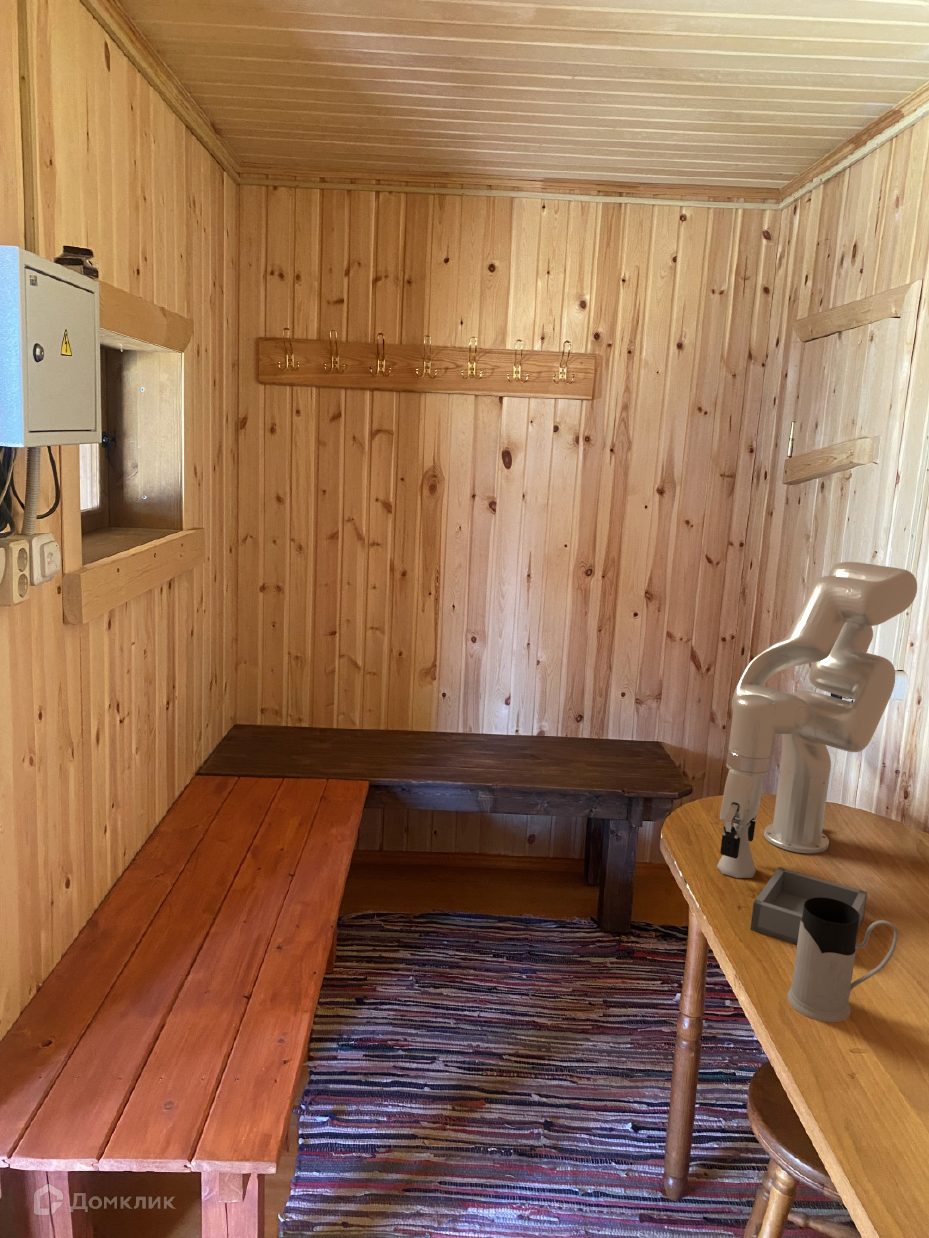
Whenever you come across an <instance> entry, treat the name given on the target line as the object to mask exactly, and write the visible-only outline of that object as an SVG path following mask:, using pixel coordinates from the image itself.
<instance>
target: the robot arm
mask: <svg viewBox="0 0 929 1238" xmlns="http://www.w3.org/2000/svg"><path fill="white" fill-rule="evenodd" d="M917 592H918V581H917V578H916V576H915V575H914V574H913V572H911V571H909V570H907V569H904V568H898V567H893V566H886V565H879V564H871V563H866V562H865V563H864V562H858V561H842V562H839V563H836V564H834V565H833V566H832V567H831V569H830V571H829V573H828V575H826V576H825V575H824V576H821V577H819V578H818V579H816V580H814V582H813V584H812V585H811V587H810V589H809V591H808V593H807V595H806V597H805V599H804V600H803V602H802V605H801V607H800V609H799V610H798V613H797V615H796V617H795V620H794V621H793V623H792V625H791V627H790V630H789V631H788V633H787V635H786V636H785V637H784V638H783V639H781V640H779V641H777V642H775V643H773V644H772V645H770V646H769V647H767V648H765V649H764V650H763V651H762V652H760V653H759V654H757V655H756V656H755V657H753V658H752V660H751V661H749V663H748V664H747V666H746V668H745V669H744V671H743V672H742V674H741V676H740V678H739V681H738V683H737V684H736V687H735V688H734V689H735V690H734V692H733V695H732V698H731V709H732V717H731V726H730V734H729V741H728V749H727V758H726V768H727V769H728V773H727V776H726V780H725V785H724V790H723V797H722V801H721V807H720V813H719V819H720V821H721V822H722V821H724V826H723V827H722V828H723V830H722V835H721V844H720V851H719V853H720V855H722V856H723V855H725V856H728V857H732V858H735V859H736V858H737V857H738V854H739V846H740V839H741V838H739V835H740V831H741V828H742V826H745V825H746V824H748V823H749V822H750V823H751V824H750V826H749V828H748V842H753V841H754V836H755V828H756V819H757V814H758V812H759V809H760V805H761V796H762V789H763V778H764V776H765V775H767V774H769V769H770V762H771V753H772V748H773V747H772V746H773V739H774V735H782V747H781V748H782V749H781V757H780V765H779V772H778V773H779V775H778V781H777V782H778V783H777V788H776V799H775V805H774V806H775V807H774V814H773V815H774V816H773V820H772V821H773V822H772V823H770V824H768V825H766V826H765V827H764V831H763V836H764V837H765V839H766V841H768V842H769V843H770V844H771V845H774V846H776V847H778V848H780V849H783V850H786V851H788V852H792V853H800V854H818V853H822V852H825V851H826V850H827V849H828V848H829V846H830V845H829V844H830V839H829V838H828V836H827V835H826V834H824V833H823V828H824V827H823V826H824V820H825V811H826V807H827V806H826V805H827V797H828V791H829V784H830V775H831V769H832V761H831V756H830V753H829V750H828V748H827V746H829V747H831V748H834V749H837V750H841V751H844V752H849V753H859V752H862V751H863V750H865V749H866V748H867V746H868V745H869V744H870V742H871V740H872V739H873V737H874V734H875V732H876V730H877V728H878V726H879V724H880V721H881V719H882V716H883V715H884V712H885V710H886V708H887V706H888V703H889V701H890V700H891V698H892V697H891V696H892V693H893V692H894V690H895V689H894V688H895V684H896V669H895V667H894V664H893V662H892V661H890V660H889V659H888V658H887V657H883V656H881V655H877V654H873V653H869V652H868V651H869V647H870V645H871V643H872V641H873V639H874V630H873V627H875V626H879V625H882V624H883V623H886V622H887V621H890V620H891V619H893V618H894V617H896V616H897V615H900V614H902V613H903V612H905V611H906V610H907V609H909V608H910V606H911V605H912V603H914V601H915V598H916V596H917V594H918V593H917ZM807 664H811V666H810V669H809V676H808V678H809V680H810V681H809V682H810V683H811V685H813V687H815V688H817V689H819V690H821V691H823V692H827V693H830V694H833V695H837V696H841V697H845V698H849V699H853V702H852V701H849V700H847V699H846V700H845V699H841V698H837V697H835V696H831V695H827V694H824V693H819V692H816V691H812V690H811V691H810V690H798V691H794V692H792V693H791V692H790V693H789V692H786V691H782V690H779V689H776V688H771V687H768V686H765V684H766V683H767V682H768V681H769V679H770V678H771V677H772V676H774V675H775V674H777V673H779V672H781V671H783V670H786V669H788V668H793V667H797V666H802V665H807ZM734 819H738V820H740V821H736V820H734ZM734 825H736V826H737V829H736V830H735V827H734Z"/></svg>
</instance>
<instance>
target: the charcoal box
mask: <svg viewBox="0 0 929 1238" xmlns="http://www.w3.org/2000/svg"><path fill="white" fill-rule="evenodd" d="M867 896H868V891H864V890H861V889H857V888H854V887H851V886H848V885H844V884H839V883H837V882H834V881H830V880H826V879H824V878H819V877H815V876H813V875H809V874H805V873H802V872H798V871H795V870H791V869H788V868H784V867H780V866H778V867H777V869H776V870H775V872H774V873H773V874H772V876H771V877H770V878H769V880H768V882H767V883H766V884H765V886H764V887H763V889H761V891H760V893H759V895H757V897H756V898H755V900H754V901H753V905H752V913H751V923H750V928H749V929H750V930H751V931H754V932H757V933H760V934H763V935H765V936H769V937H772V938H775V939H778V940H781V941H784V942H787V943H790V944H794V945H796V946H797V943H798V936H799V928H800V921H801V920H802V915H803V908H804V903H805V901H806V900H808V899H810V898H815V897H824V898H831V899H835V900H839V901H842V902H844V903H846V904H848V905H850V906H852V907H853V908H854V909H856V910H857V912H858V913H859V916H860V918H859V925H858V931H857V933H858V932H859V929H860V927H861V926H862V923H863V920H864V916H865V909H866V903H867Z"/></svg>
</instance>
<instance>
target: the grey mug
mask: <svg viewBox="0 0 929 1238" xmlns="http://www.w3.org/2000/svg"><path fill="white" fill-rule="evenodd" d="M859 918H860V916H859V913H858V912H857V910H856V909H854V908H853V907H852V906H850V905H848V904H846V903H844V902H842V901H839V900H835V899H831V898H824V897H815V898H810V899H808V900H806V901H805V903H804V908H803V915H802V920H801V921H800V928H799V936H798V943H797V945H796V952H795V958H794V959H795V960H794V966H793V973H792V981H791V986H790V989H789V990H788V992H787V993H786V994H787V995H786V996H787V997H786V998H787V1002H788V1003H789V1004H790V1005H789V1006H791V1007H792V1008H793V1009H794V1010H796V1011H797V1012H798V1013H800V1014H801V1015H803V1016H805V1017H807V1018H809V1019H811V1020H815V1021H819V1022H824V1023H839V1022H843V1021H845V1020H848V1018H849V1017H850V1015H851V1011H852V1010H851V1006H850V1003H849V1002H850V1001H849V1000H850V995H851V991H852V990H853V989H854V988H855V987H857V986H858V985H860V984H862V983H863V982H865V981H866V980H868V979H870V978H871V977H873V976H874V975H876V974H878V973H879V972H880V971H882V970H883V969H884V967H886V965H887V964H888V963H889V961H890V960H891V958H892V957H893V955H894V952H895V951H896V950H895V949H896V948H897V944H898V939H899V937H898V930H897V928H896V926H895V925H894V924H893V923H892V922H890V921H887V920H876V921H874V922H872V923H871V924H869V926H868V927H867V929H866V931H865V933H864V939H863V941H862V942H861V943H858V944H857V937H858V932H859V929H858V925H859ZM880 925H887V926H890V927H891V928H892V930H893V939H892V943H891V946H890V948H889V951H888V953H887V954H886V956H885V957H884V958H883V960H882V961H881V962H880V963H879V964H878V965H877V966H875V967H874V968H873V969H871V970H870V971H868V972H867V973H865V974H864V975H862V976H861V977H859V978H857V979H856V980H854V981H852V980H853V973H854V967H855V960H856V954H857V953H856V952H857V949H863V948H865V947H866V946H867V945H868V943H869V939H870V935H871V932H872V931H873V930H874V929H875V928H876V927H878V926H880ZM857 931H858V932H857Z"/></svg>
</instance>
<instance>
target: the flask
mask: <svg viewBox="0 0 929 1238" xmlns="http://www.w3.org/2000/svg"><path fill="white" fill-rule="evenodd" d="M734 820H736V821H740V820H738V819H734ZM750 824H751V823H750V822H749V823H748V824H746V825H745V826H742V828H741V831H740V835H739V838H741V839H740V846H739V854H738V857H737V858H736V859H735V858H732V857H728V856H725V855H722V856H721V858H720V859H719V861H718V863H717V866H716V868H717V869H718V870H719V871H720V872H721V874H723V875H726V876H728V877H732V878H737V879H750V878H751V879H752V878H754V876H755V874H756V872H757V871H756V866H755V862H754V860H753V856H752V851H751V847H750V841H748V828H749V826H750ZM733 827H735V830H736V829H737V826H736V825H733Z"/></svg>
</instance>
